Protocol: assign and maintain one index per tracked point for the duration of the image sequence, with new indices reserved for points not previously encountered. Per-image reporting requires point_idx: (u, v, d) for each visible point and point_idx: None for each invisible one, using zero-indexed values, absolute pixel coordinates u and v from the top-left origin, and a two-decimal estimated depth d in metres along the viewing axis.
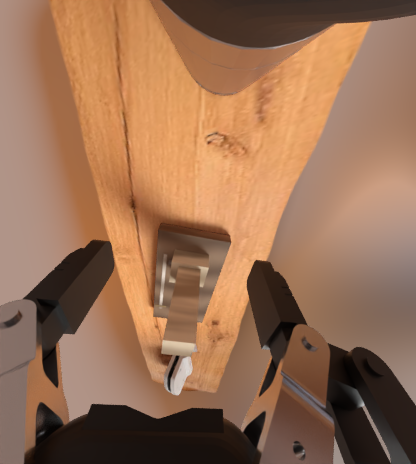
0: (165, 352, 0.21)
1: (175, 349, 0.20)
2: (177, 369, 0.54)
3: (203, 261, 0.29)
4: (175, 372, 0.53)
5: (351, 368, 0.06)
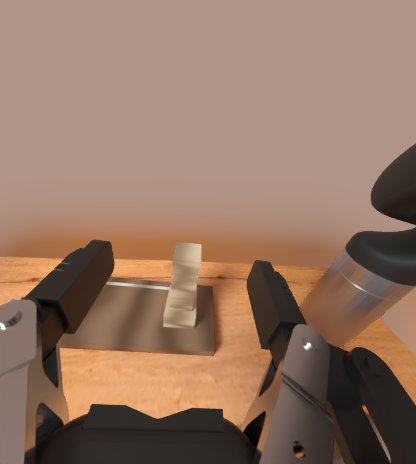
0: (179, 244, 0.24)
1: (185, 249, 0.24)
2: None
3: None
4: None
5: (351, 368, 0.06)
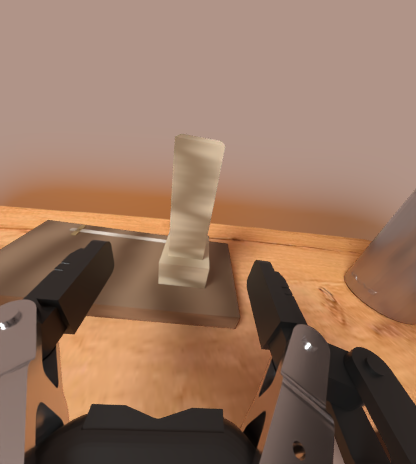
0: (186, 135, 0.15)
1: (197, 138, 0.14)
2: None
3: None
4: None
5: (351, 368, 0.06)
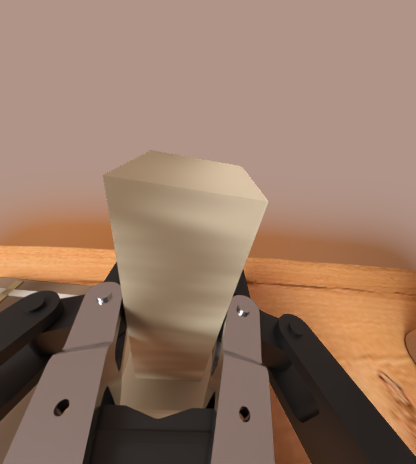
0: (160, 154, 0.06)
1: (185, 165, 0.05)
2: None
3: None
4: None
5: (280, 338, 0.06)
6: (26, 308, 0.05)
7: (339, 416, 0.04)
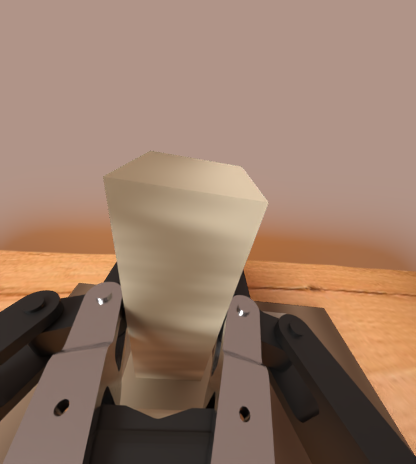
0: (160, 155, 0.06)
1: (185, 166, 0.05)
2: None
3: None
4: None
5: (280, 338, 0.06)
6: (26, 308, 0.05)
7: (339, 416, 0.04)
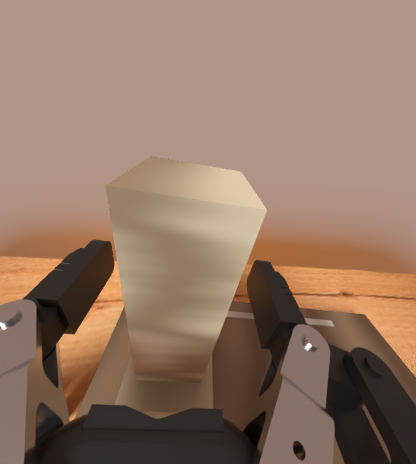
0: (161, 160, 0.06)
1: (185, 172, 0.06)
2: None
3: None
4: None
5: (351, 368, 0.06)
6: None
7: None
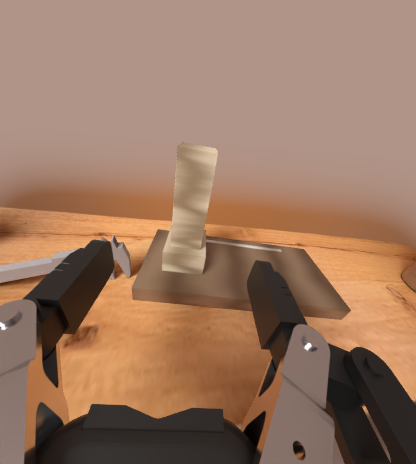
0: (186, 143, 0.18)
1: (195, 146, 0.17)
2: None
3: None
4: None
5: (351, 368, 0.06)
6: None
7: None
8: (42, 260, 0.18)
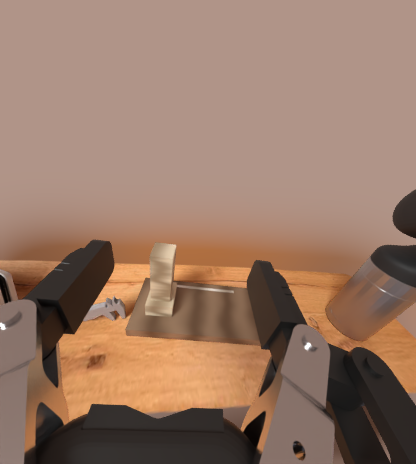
0: (157, 244, 0.30)
1: (162, 249, 0.29)
2: None
3: None
4: None
5: (351, 368, 0.06)
6: None
7: None
8: None
